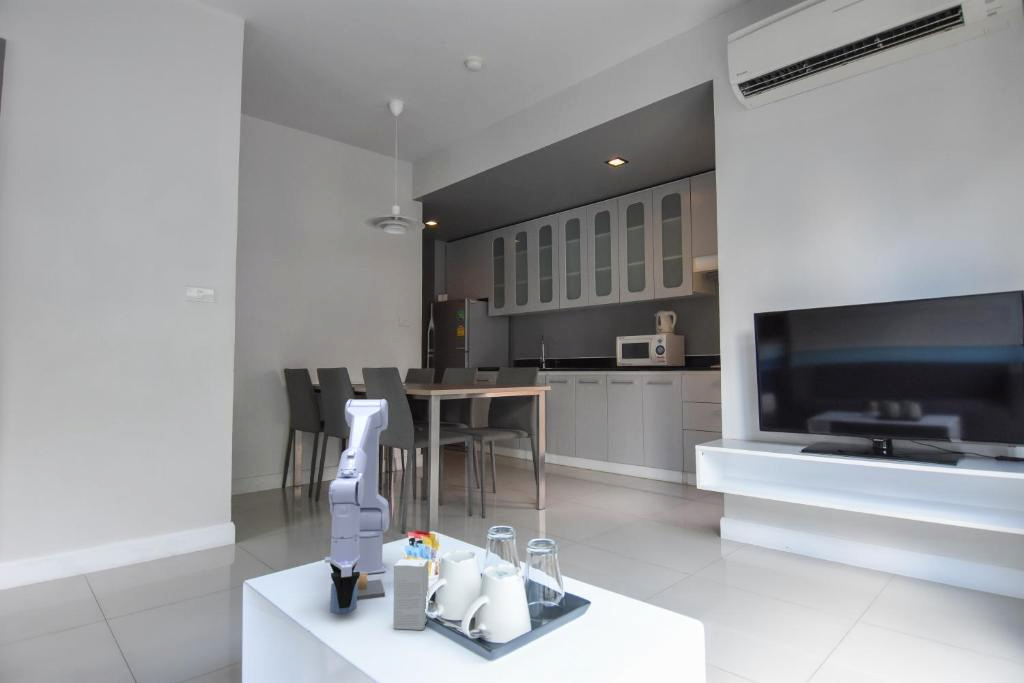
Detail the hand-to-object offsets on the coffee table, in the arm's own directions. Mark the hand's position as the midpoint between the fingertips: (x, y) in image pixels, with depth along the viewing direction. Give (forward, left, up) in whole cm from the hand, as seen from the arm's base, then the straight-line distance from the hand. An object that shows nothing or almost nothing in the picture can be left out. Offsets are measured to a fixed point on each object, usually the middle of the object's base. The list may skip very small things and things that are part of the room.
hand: (343, 601), depth 114 cm
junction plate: (-9, +5, -1) cm, 10 cm away
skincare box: (+13, +12, -2) cm, 18 cm away
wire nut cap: (0, 0, -1) cm, 1 cm away
